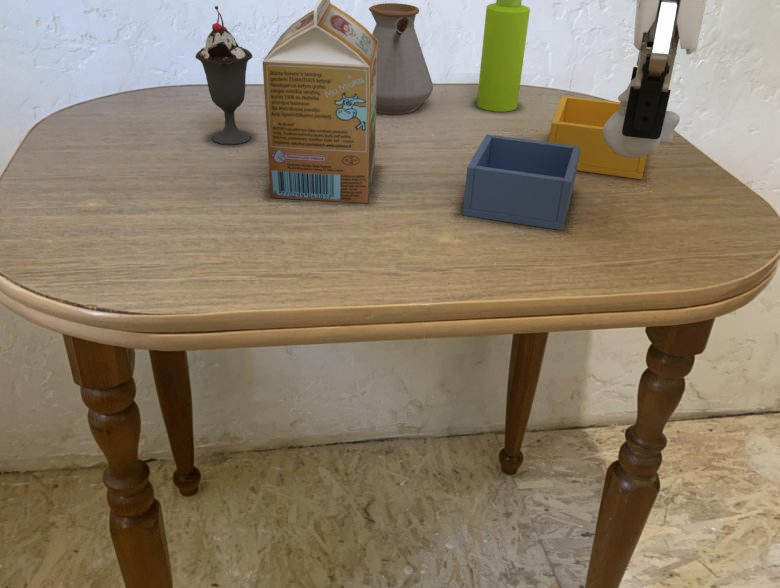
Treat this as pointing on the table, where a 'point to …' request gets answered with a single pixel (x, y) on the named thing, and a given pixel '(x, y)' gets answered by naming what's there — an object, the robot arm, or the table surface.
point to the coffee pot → (399, 60)
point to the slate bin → (521, 181)
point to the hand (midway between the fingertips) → (641, 123)
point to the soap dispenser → (502, 55)
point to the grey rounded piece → (634, 145)
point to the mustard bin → (591, 136)
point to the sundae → (225, 79)
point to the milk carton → (322, 108)
